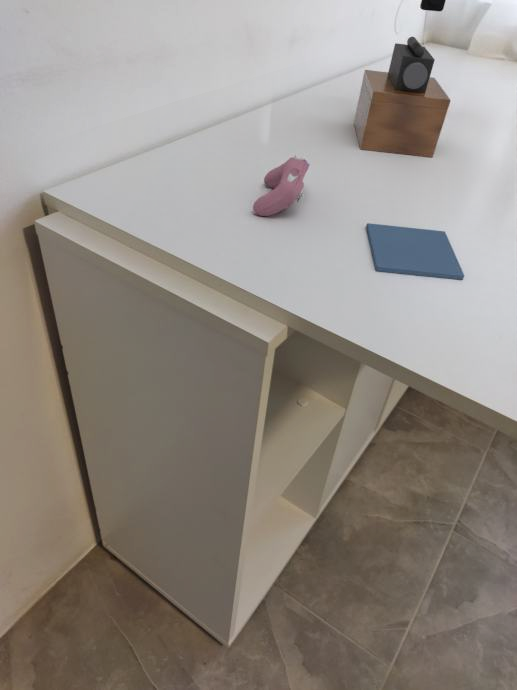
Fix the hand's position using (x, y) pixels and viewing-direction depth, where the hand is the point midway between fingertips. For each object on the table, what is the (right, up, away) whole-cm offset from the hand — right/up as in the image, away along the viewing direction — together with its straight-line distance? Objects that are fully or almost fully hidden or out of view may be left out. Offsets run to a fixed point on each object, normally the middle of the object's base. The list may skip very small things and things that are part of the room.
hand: (420, 3), depth 78 cm
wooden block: (-1, -15, +14) cm, 20 cm away
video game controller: (-21, -31, -8) cm, 38 cm away
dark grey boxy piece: (0, -8, +8) cm, 11 cm away
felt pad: (-5, -39, -14) cm, 42 cm away
